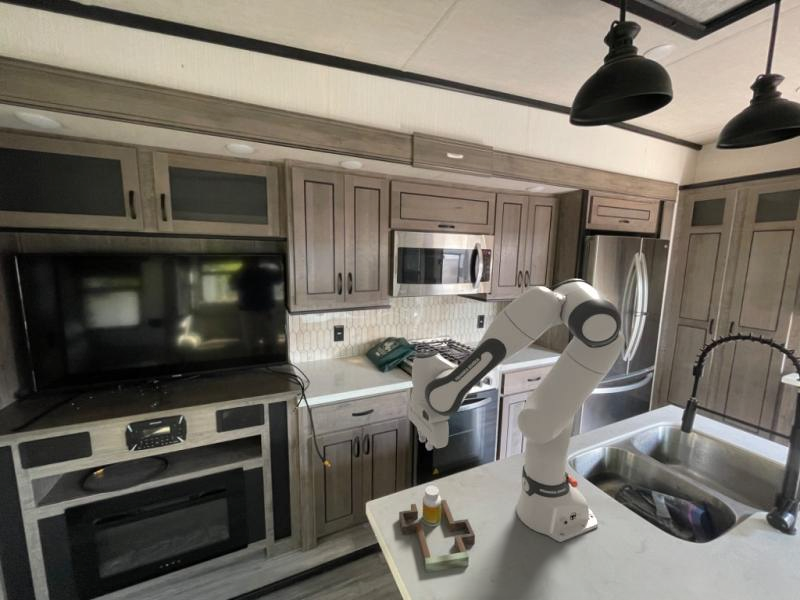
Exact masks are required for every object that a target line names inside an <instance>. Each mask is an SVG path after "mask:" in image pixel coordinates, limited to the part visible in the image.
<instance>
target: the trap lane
mask: <svg viewBox="0 0 800 600" xmlns="http://www.w3.org/2000/svg"><path fill="white" fill-rule="evenodd" d="M441 513H442V514H443V517H444V519H445V522H446V526H447V527H448V528H447V529H448V530H449V533H450V532H457V531H465V533H466V534H459V535H454V546H455V549H456V552H455V553H450V554H443V555H436V556H431V553H430V550H429V546H428V543H427V539H426V536H425V532H424V529H423V524H422V522H421V521H420V522H414V523H413V522H412V523H407V524H406V521H410V520H412V521H413V520H418V519H419V511H418V507H417V504H416V503H412V504H410V509H409V510H402V511H399V512H398V515H399V516H398V517H399V518H398V519H399V525H400V529H401V535H402V536H404V535H412V534H416V538H417V541H418V544H419V549H420V553H421V557H422V561H423V566H424V569H425V572H426V573H432V572H437V571H445V570H449V569H456V568H462V567H468V566H469V565H470V564H469V563H470V562H469V561H470V559H469V557H470V556H469V554H468V552H467V549H466V547H465V546H467V545H472V544H473V545H474V544H475V542H476V538H475V537H476V535H475V533H474V530H473V528H472V526H471V524H470V522H469V519H459V520H454V517H453V515H452V512H451V510H450V507H449V505H448V502H447V500H446V499H441Z"/></svg>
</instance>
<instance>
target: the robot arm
mask: <svg viewBox="0 0 800 600" xmlns="http://www.w3.org/2000/svg"><path fill="white" fill-rule="evenodd" d="M563 324H565V326H566V328H568V329H569V331H570V333H571V334H572V335H573V336H572V339H571V340H570V342H569V343H568V344H567V346H566V347H565V348H564V350H563V351H562V353H561V355H560V356H559V357H558V358H557V360H556V361H555V363H554V365H553V366H552V367H551V369H550V370H549V372H548V373H547V374H546V375H545V376H544V378H543V379H542V380H541V382H540V383H539V384H538V386H537V387H536V388H535V389H534V391H533V392H532V393H531V395H530V396H529V397H528V399H527V400H526V401H525V403H524V404H523V406H522V407H521V409H520V411H519V413H518V415H517V426H518V429H519V432H520V433H521V435H523V436H524V438H526V440H525V449H524V463H523V464H524V465H523V466H522V472H521V486H522V487H521V492H520V495H519V498H518V500H517V502H516V505H515V510H516V511H515V512H516V515H517V517H518V518H519V519H520V520H521V522H522V523H523V524H525V526H526V527H528V528H530V529H531V530H533V531H535V532H538V533H540V534H543V535H545V536H548V537H550V538H551V539H553V540H554V541H557V542H559V543H562V542H564V541H566V540H569V539H572V538H574V537H577V536H579V535H581V534H584V533H587V532H588V531H591V530H593V529H596V528H597V527H598V520H597V518H596V515H595V514H594V513H593V511H592V510H591V508H589V504H588V502H587V500H586V497H585V496H584V495H583V494H582V492H581V491H579V489H578V488H577V486H578V485H579V482H578V481H577V480H576V479H575V478H574V477H573V476H569V473H568V472H567V471H566V469H567V457H568V456H567V455H568V451H569V446H570V441H571V437H572V431H573V426H574V421H575V415H576V414H577V412H578V411H579V410H580V409H581V407H582V406H583V405H584V404H585V402H586V401H587V400H588V398H589V397H591V394H592V393H593V392H594V391H595V389H596V388H597V387H598V385H599V384H600V383H601V382H602V381H603V379H604V378H605V377H606V376H607V374H608V373H609V372H610V370H611V369H612V368H613V366H614V365H615V363H616V361H617V359H618V358H619V355H621V352H622V350H623V348H624V346H625V342H626V340H625V336H624V334H623V332H622V331H621V327H622V317H621V315H620V312H619V310H618V308H617V307H616V305H614V303H612V302H611V301H610V299H609V298H608V297H607V296H606V295H605V294H604V293H603V292H602V291H600V290H598V289H597V288H596V287H594V286H593V285H592V284H591V283H590V282H589V281H586V280H583V279H581V278H569V279H565V280H563V281H560V282H559V283H557V284H555V285H552V286H550V287H548V288H547V287H545V286H543V285H542V286H540V285H536V286H532V287H530V288H529V289H527V290H526V291H524V292H523V293H522V294H520V295H518V296H517V297H516V298H514V299H513V300H512V301H511V302H509V303H508V304H507V305H506V306H505V307H504V308H503V309H502V310H501V311H500V312H499V313H498V314H497V315H496V317H495V318H494V319H493V321H491V323H490V325H489V326H488V328H487V330H486V331H485V333H484V334H483V335H482V338H481V339H480V341H479V342H478V344H477V345H476V347H474V349H473V350H472V352H471V353H470V354H469V355H468V356H467V357H466V358H465V359H464V360H462V362H460V364H456V363H454V362H452V361H450V360H448V359H446V358H445V357H443V356H442V355H441V354H440V353H439V352H438V351H434V350H428V351H424V352H423V351H422V352H420V353H418V354H417V355H415V357H414V358H413V360H412V361H413V362H412V365H411V366H412V367H411V383H412V390H411V394H410V399H408V402H407V403H408V404H407V417H408V419H409V420H410V421H411V422H412V423H413V425H414V426H415V427H416V429H417V433H418V440H419V442H420V443H425V448H426V450H427V451H432V450H433V449H434V448H435V449H441V448H445V447H446V446H447V445H448V443H449V433H450V432H449V428H450V427H449V422H448V420H449V419H450V417H451V416H454V415H455V414H456V413H457V412H458V411H459V410H460V407H462V404H463V403H464V401H465V400H466V398H467V396H468V395H469V393H470V392H471V391H472V389H473V387H475V386H476V385H477V384H478V383H480V381H482V380H483V379H484V377H486V376H487V375H489V373H490V372H491V371H492V370H494V369H495V368H497V367H498V366H500V365H501V364H503V363H504V362H506V361H508V360H509V359H511V358H512V357H514V356H516V355H517V354H519V353H521V352H522V351H524V350H525V349H526V348H528V347H529V346H530V345H532V344H533V343H534V342H535V341H537V340H538V339H539V338H540V337H541V336H542V335H543V334H544V333H545V332H546V331H548V330H549V329H550V328H554V327H555V326H559V325H563Z"/></svg>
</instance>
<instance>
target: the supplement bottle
mask: <svg viewBox="0 0 800 600" xmlns="http://www.w3.org/2000/svg"><path fill="white" fill-rule="evenodd" d="M439 490H440V489H439V488H438V487H437V486H435V485H428V486H427V487H426V488H425V490H424V495H423V496H422V520H423V523H424V524H425V525H426V526H429V527H437V526H438V525H440V523H441V521H442V509H441V500H442V497H441V496H440V491H439Z"/></svg>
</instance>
